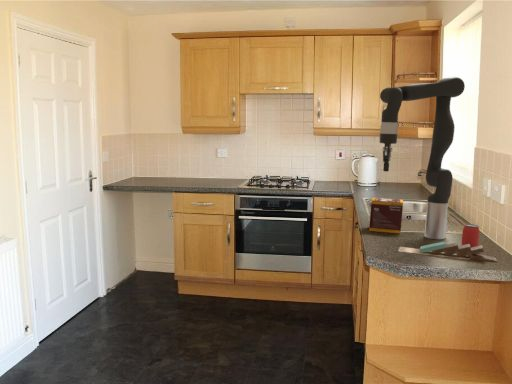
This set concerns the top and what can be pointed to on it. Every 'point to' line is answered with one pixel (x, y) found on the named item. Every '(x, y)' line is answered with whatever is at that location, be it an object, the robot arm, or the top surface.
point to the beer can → (470, 235)
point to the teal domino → (432, 247)
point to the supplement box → (386, 215)
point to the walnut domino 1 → (447, 248)
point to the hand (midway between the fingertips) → (386, 171)
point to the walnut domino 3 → (473, 251)
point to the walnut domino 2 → (459, 250)
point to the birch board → (430, 253)
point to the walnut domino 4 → (482, 257)
